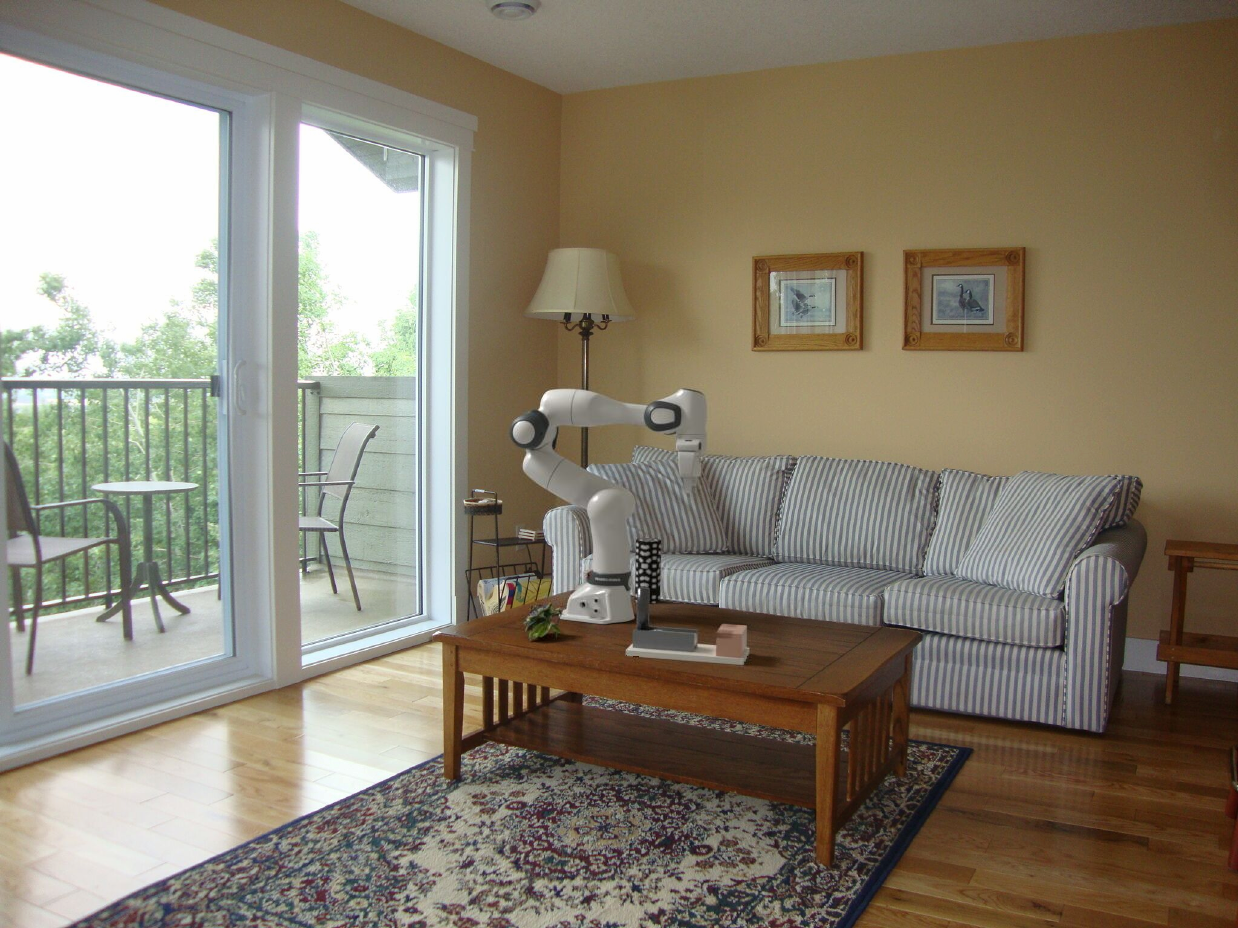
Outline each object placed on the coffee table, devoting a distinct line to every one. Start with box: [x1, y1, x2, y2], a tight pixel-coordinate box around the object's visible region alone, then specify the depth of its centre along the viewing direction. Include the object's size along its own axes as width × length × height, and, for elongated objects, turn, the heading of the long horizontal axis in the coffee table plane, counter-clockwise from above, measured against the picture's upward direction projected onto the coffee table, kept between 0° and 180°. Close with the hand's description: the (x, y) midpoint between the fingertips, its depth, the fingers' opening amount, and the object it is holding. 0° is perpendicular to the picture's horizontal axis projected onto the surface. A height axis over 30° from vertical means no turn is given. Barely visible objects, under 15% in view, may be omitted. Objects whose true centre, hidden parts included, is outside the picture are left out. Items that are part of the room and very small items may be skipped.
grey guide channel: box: [632, 625, 699, 652], centre depth 261 cm, size 16×6×5 cm, turn 76°
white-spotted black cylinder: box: [634, 537, 662, 604], centre depth 327 cm, size 8×8×20 cm
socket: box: [715, 623, 748, 658], centre depth 256 cm, size 6×10×6 cm, turn 166°
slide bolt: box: [636, 587, 697, 646], centre depth 260 cm, size 16×3×14 cm, turn 76°
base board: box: [625, 642, 750, 666], centre depth 259 cm, size 30×12×2 cm, turn 76°
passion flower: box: [523, 602, 563, 642], centre depth 276 cm, size 11×11×12 cm
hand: (690, 492), depth 292 cm, fingers open, 8 cm apart
